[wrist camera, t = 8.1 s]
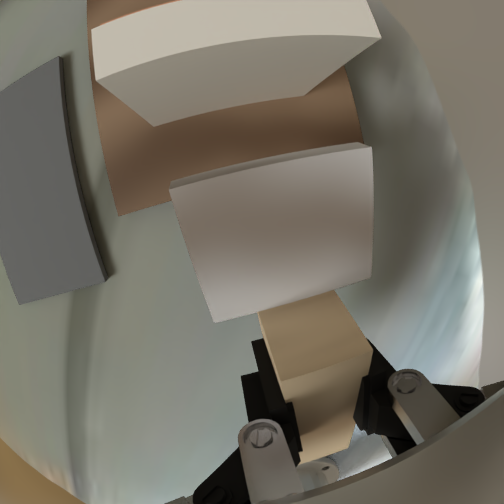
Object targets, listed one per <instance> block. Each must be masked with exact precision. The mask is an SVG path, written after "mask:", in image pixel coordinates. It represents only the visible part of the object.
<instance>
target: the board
mask: <svg viewBox="0 0 504 504" xmlns="http://www.w3.org/2000/svg"><path fill="white" fill-rule="evenodd" d="M171 1H175V0H87V29H88V48H89V60H90V71H91V80H92V89H93V96H94V103H95V110H96V116H97V122H98V128H99V134H100V139H101V144H102V149H103V154H104V159H105V164H106V168H107V173H108V177H109V181H110V185H111V189H112V193H113V197H114V201H115V205H116V209H117V212H118V216H121V215H125V214H128V213H131V212H134V211H138V210H141V209H144V208H148V207H151V206H154V205H158V204H161V203H165V202H168V201H172V199H171V196H170V192H169V187H170V183H171V181H174V180H177V179H181V178H184V177H188V176H191V175H195V174H199V173H203V172H207V171H211V170H215V169H219V168H223V167H227V166H231V165H235V164H239V163H244V162H248V161H253V160H257V159H262V158H267V157H272V156H277V155H282V154H287V153H292V152H298V151H303V150H309V149H315V148H321V147H327V146H334V145H340V144H347V143H355V142H359V143H362V144H364V142H363V137H362V132H361V128H360V123H359V119H358V115H357V111H356V107H355V103H354V99H353V95H352V91H351V87H350V84H349V80H348V77H347V73H346V70H345V67H344V65H343V66H341V67H340V68H339V69H337V70H336V71H335V72H333V73H332V74H331V75H330V76H328V77H327V78H326V79H324V80H323V81H322V82H320V83H319V84H318V85H317V86H315V87H314V88H313V89H312V90H310V91H309V92H308V93H307V94H305V95H304V96H298V97H290V98H282V99H275V100H269V101H262V102H256V103H251V104H245V105H240V106H235V107H230V108H225V109H220V110H216V111H211V112H207V113H203V114H199V115H195V116H191V117H187V118H183V119H179V120H176V121H172V122H169V123H165V124H162V125H158V126H155V127H153V126H152V125H151V124H150V123H148V122H147V121H146V120H145V119H144V118H142V117H141V116H140V115H139V114H137V113H136V112H135V111H134V110H132V109H131V108H130V107H129V106H127V105H126V104H125V103H124V102H122V101H121V100H120V99H119V98H117V97H116V96H115V95H113V94H112V93H111V92H110V91H108V90H107V89H106V88H104V87H103V86H102V85H101V84H99V83H98V82H97V81H96V79H95V70H94V60H93V48H92V33H91V29H93V28H96V27H98V26H100V24H102V23H105V22H107V21H110V20H113V19H115V18H118V17H121V16H124V15H126V14H129V13H132V12H135V11H138V10H142V9H145V8H148V7H152V6H155V5H159V4H163V3H166V2H171Z"/></svg>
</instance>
